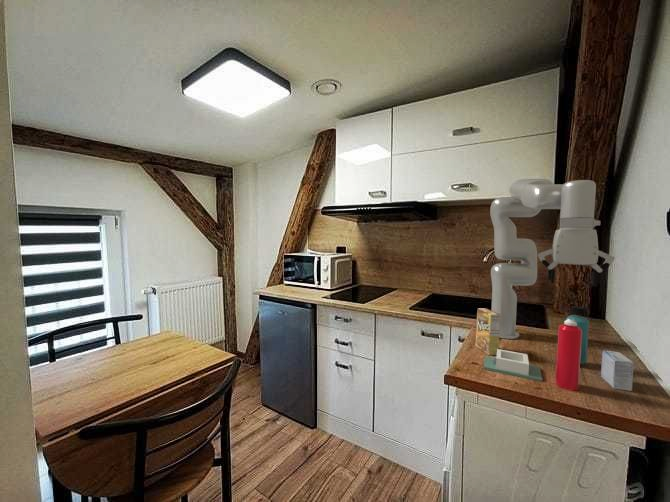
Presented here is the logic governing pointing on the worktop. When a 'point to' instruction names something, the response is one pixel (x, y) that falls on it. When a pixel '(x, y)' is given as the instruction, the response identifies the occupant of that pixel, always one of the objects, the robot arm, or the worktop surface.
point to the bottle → (568, 355)
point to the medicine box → (617, 370)
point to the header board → (512, 365)
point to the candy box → (487, 331)
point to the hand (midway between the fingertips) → (572, 284)
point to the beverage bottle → (584, 326)
